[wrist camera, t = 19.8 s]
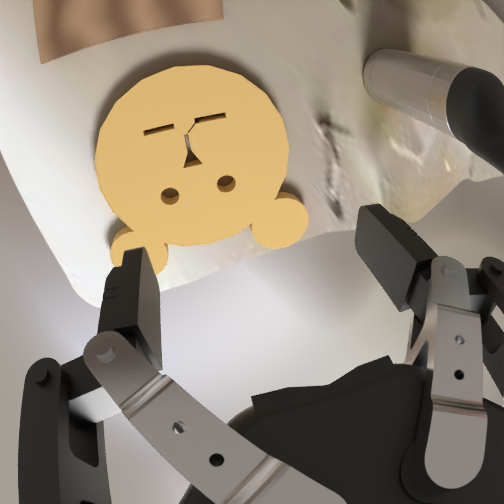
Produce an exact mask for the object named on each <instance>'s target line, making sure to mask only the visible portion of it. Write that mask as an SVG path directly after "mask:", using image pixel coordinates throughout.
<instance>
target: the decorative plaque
mask: <svg viewBox="0 0 504 504" xmlns="http://www.w3.org/2000/svg"><path fill="white" fill-rule="evenodd" d="M219 113H224V114H223V115H217V116H212V117H207V118H202V119H199V120H198V121H197V122H196V124H195V125H194V126H193V124H194V123H195V120H194V118H198V117H203V116H208V115H213V114H219ZM173 123H174V125H172V126H167V127H163V128H159V129H155V130H151V131H147V132H146V131H145V130H148V129H152V128H156V127H160V126H164V125H169V124H173ZM192 126H193V127H192ZM191 127H192V129H191V130H190V128H191ZM186 134H188V136H189V141H190V146H191V151H192V152H193V153H194V154H195V155H196V157H197V158H198V159H197V160H192V161H188V162H185V160H186V157H187V153H188V152H187V145H186V140H185V135H186ZM288 152H289V144H288V139H287V135H286V131H285V127H284V123H283V119H282V117H281V116H280V114H279V112H278V111H277V109H276V108H275V106H274V105H273V103H272V102H271V100H270V99H269V97H268V96H267V94H266V93H264V92H263V91H262V90H260V89H259V88H258V87H256V86H255V85H254V84H252V83H251V82H250V81H248V80H247V79H246V78H244V77H243V76H241V75H239V74H237V73H234V72H230V71H227V70H224V69H220V68H217V67H214V66H210V65H186V66H173V67H171V68H168V69H166V70H163V71H160V72H158V73H155V74H153V75H150V76H148V77H146V78H143V79H142V80H141V81H140V82H138V83H137V84H136V85H135V86H134V87H132V88H131V89H130V90H129V91H128V92H127V93H126V94H124V95H123V96H122V97H121V98H120V99H119V100H118V101H117V102H116V103H115V104H114V106H113V108H112V109H111V111H110V113H109V115H108V116H107V118H106V120H105V122H104V123H103V125H102V127H101V129H100V132H99V137H98V142H97V148H96V154H95V166H96V172H97V178H98V184H99V188H100V190H101V192H102V194H103V196H104V197H105V199H106V201H107V203H108V205H109V206H110V208H111V210H112V212H113V213H114V214H115V215H116V216H117V217H119V218H120V219H121V220H122V221H123V222H124V223H125V224H126V225H127V226H125V227H123V228H122V229H120V230H119V231H118V232H117V233H116V235H115V237H114V239H113V242H112V246H111V252H110V257H111V260H112V263H113V265H114V266H115V267H118V266H122V259H123V253H124V251H125V250H130V249H134V248H139V247H145V248H146V250H147V252H148V255H149V258H150V261H151V264H152V267H153V270H154V272H155V275H157V274H159V273H160V272H161V271H162V270H163V269H164V267H165V266H166V265H167V261H168V244H173V245H179V246H191V245H202V244H211V243H213V242H216V241H219V240H222V239H224V238H227V237H230V236H233V235H236V234H237V233H239V232H240V231H241V230H243V229H244V228H246V227H247V226H249V225H250V228H251V231H252V234H253V236H254V238H255V240H256V241H257V242H258V243H259V244H260V245H262V246H264V247H266V248H272V249H279V248H284V247H287V246H290V245H292V244H293V243H295V242H296V241H298V240H299V239H300V238H301V236H302V235H303V234H304V233H305V231H306V229H307V227H308V221H309V217H308V212H307V210H306V208H305V207H304V205H303V204H302V202H301V201H300V200H299V198H297V197H296V196H294V195H293V194H291V193H287V192H278V191H279V189H280V187H281V185H282V182H283V180H284V178H285V175H286V172H287V162H288ZM225 175H229V176H232V177H233V180H232V182H231V183H230V184H229V185H226V186H220V185H218V184H217V181H218V180H219V178H221V177H222V176H225ZM167 188H174V189H176V190H177V191H178V192H179V193H178V194H177V195H176V196H175V197H173V198H167V197H165V196H164V195H163V194H162V191H163V190H165V189H167Z"/></svg>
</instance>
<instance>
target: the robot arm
mask: <svg viewBox="0 0 504 504" xmlns="http://www.w3.org/2000/svg"><path fill="white" fill-rule="evenodd" d="M363 79H364V84H365V88H366V90H367V92H368V93H369V95H370V96H371V97H372V98H373V99H374V100H375V101H377V102H379V103H381V104H383V105H386V106H388V107H391V108H393V109H395V110H397V111H400V112H402V113H404V114H406V115H409V116H411V117H413V118H415V119H417V120H420V121H422V122H424V123H426V124H428V125H430V126H432V127H434V128H436V129H438V130H440V131H442V132H444V133H446V134H448V135H450V136H452V137H454V138H456V139H457V140H459V141H461V142H462V143H464V144H465V145H466V146H467V147H468V148H469V149H470V150H471V151H472V152H473V153H475V154H476V155H478V156H479V157H481V158H482V159H484V160H485V161H487V162H488V163H489V164H491V165H492V166H494V167H495V168H496V169H498V170H499V171H500V172H502V173H503V174H504V85H503V84H502V82H501V81H500V80H499V79H498V78H497V77H496V76H495V75H494V74H492V73H490V72H488V71H485V70H482V69H479V68H476V67H472V66H469V65H465V64H461V63H458V62H453V61H449V60H445V59H441V58H436V57H432V56H427V55H422V54H417V53H412V52H406V51H400V50H393V49H380V50H378V51H376V52H374V53H373V54H372V55H371V56H370V57H369V58H368V60H367V62H366V64H365V67H364V72H363ZM355 247H356V250H357V253H358V254H359V256H360V257H361V258H362V260H363V261H364V262H365V264H366V265H367V267H368V268H369V269H370V270H371V272H372V273H373V275H374V276H375V277H376V279H377V280H378V282H379V283H380V284H381V286H382V287H383V289H384V290H385V292H386V293H387V294H388V296H389V297H390V299H391V300H392V302H393V303H394V304H395V306H396V307H397V309H398V310H399V312H402V311H405V310H407V309H410V308H411V309H412V311H413V313H412V316H411V320H410V321H411V322H410V330H409V338H408V345H407V352H406V358H405V361H404V364H393V363H392V361H391V359H390V357H389V356H388V355H387V356H385V357H382V358H379V359H377V360H374V361H371V362H368V363H365V364H363V365H360V366H358V367H356V368H355V369H353V370H351V371H350V372H348V373H347V374H345V375H344V376H342V377H340V378H339V379H337V380H336V381H334V382H332V383H331V384H329V385H324V386H307V387H287V388H283V389H279V390H275V391H272V392H267V393H263V394H259V395H255V396H251V398H252V403H253V406H251V407H249V408H247V409H245V410H243V411H242V412H240V413H239V414H237V415H236V416H235V417H234V418H233V419H231V420H230V421H229V422H228V423H227V424H225V423H224V422H223V421H221V420H220V419H219V418H218V417H216V416H215V415H214V414H213V413H211V412H210V411H209V410H208V409H206V408H205V407H204V406H203V405H202V404H200V403H199V402H198V401H197V400H196V399H194V398H193V397H192V396H191V395H190V394H189V393H187V392H186V391H185V390H184V389H183V388H182V387H180V386H179V385H178V384H177V383H176V382H175V381H174V380H173V379H171V378H170V377H169V376H167V375H164V376H163V375H162V374H160V373H159V372H158V371H160V370H162V351H161V328H160V327H161V325H160V291H159V285H158V281H157V278H156V275H155V272H154V270H153V267H152V264H151V261H150V258H149V255H148V252H147V250H146V248H145V247H139V248H134V249H130V250H125V251H124V253H123V259H122V266H118V267H113V269H112V270H111V272H110V273H109V275H108V276H107V278H106V282H105V288H104V290H105V291H104V293H103V301H102V305H101V311H100V318H99V324H98V332H97V335H96V336H94V337H93V338H92V339H91V340H90V341H89V342H88V343H87V345H86V346H85V349H84V352H83V355H82V356H80V357H78V358H76V359H74V360H72V361H70V362H67V363H65V364H63V365H60V364H59V363H58V362H57V361H56V360H54V359H52V358H42V359H40V360H38V361H36V362H35V363H34V364H33V365H32V366H31V367H30V369H29V370H28V372H27V375H26V378H25V384H24V391H23V399H22V408H21V418H20V430H19V449H18V489H19V504H112V503H111V496H110V490H109V481H108V473H107V464H106V453H105V441H104V425H103V420H104V419H106V418H109V417H111V416H114V415H116V414H118V413H120V412H122V413H123V414H124V415H125V417H127V419H128V420H129V421H130V422H131V424H132V425H133V426H134V427H135V428H136V429H137V430H138V431H139V432H140V433H141V435H142V436H143V437H144V438H145V439H146V440H147V441H148V442H149V443H150V444H151V445H152V446H153V447H154V448H155V449H156V450H157V451H158V452H159V453H160V454H161V455H162V456H163V457H164V458H165V459H166V460H167V461H168V462H169V463H170V464H171V465H172V466H173V467H174V468H175V469H176V470H177V471H178V472H179V473H180V474H181V475H183V476H184V477H185V478H186V479H187V480H188V481H189V482H190V483H191V484H190V486H189V488H188V489H187V491H186V493H185V494H184V496H183V498H182V499H181V501H180V503H179V504H504V405H503V406H500V405H498V404H496V403H494V402H491V401H489V400H487V399H485V398H483V363H484V364H485V366H486V368H487V370H488V371H489V373H490V375H491V377H492V378H493V380H494V382H495V384H496V385H497V387H498V389H499V391H500V393H501V395H502V397H503V399H504V332H503V331H502V329H501V328H500V326H499V325H498V324H497V322H496V321H495V319H494V318H493V316H492V315H491V314H492V312H493V310H494V308H495V307H496V305H497V306H498V307H499V308H500V310H501V311H502V312H503V314H504V262H502V261H501V260H499V259H497V258H494V257H486V258H484V259H483V260H482V262H481V264H480V267H479V268H478V269H476V268H472V269H471V268H465V267H464V266H463V265H462V264H461V263H460V262H459V261H457V260H456V259H454V258H451V257H448V256H438V255H437V254H436V253H435V252H434V251H433V250H432V249H431V248H430V247H429V246H428V245H427V244H426V242H425V241H424V240H423V239H422V238H421V237H420V236H417V233H416V232H415V231H414V230H413V229H411V227H410V226H409V225H408V224H407V223H406V222H405V221H404V220H402V219H400V218H399V217H397V216H395V215H393V214H390V213H389V212H388V211H387V210H386V209H385V208H384V207H383V206H382V205H381V204H372V205H366V206H361V207H360V209H359V212H358V220H357V227H356V235H355Z"/></svg>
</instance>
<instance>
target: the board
mask: <svg viewBox="0 0 504 504" xmlns="http://www.w3.org/2000/svg"><path fill="white" fill-rule="evenodd" d="M33 8H34V18H35V27H36V35H37V42H38V49H39V55H40V61H41V64H44V63H47V62H50V61H52V60H55V59H57V58H60V57H62V56H65V55H68V54H70V53H73V52H76V51H79V50H82V49H85V48H88V47H91V46H94V45H97V44H100V43H103V42H107V41H110V40H114V39H117V38H121V37H125V36H129V35H133V34H137V33H141V32H145V31H150V30H155V29H160V28H165V27H170V26H176V25H182V24H188V23H195V22H202V21H210V20H220V19H223V9H222V0H33Z"/></svg>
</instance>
